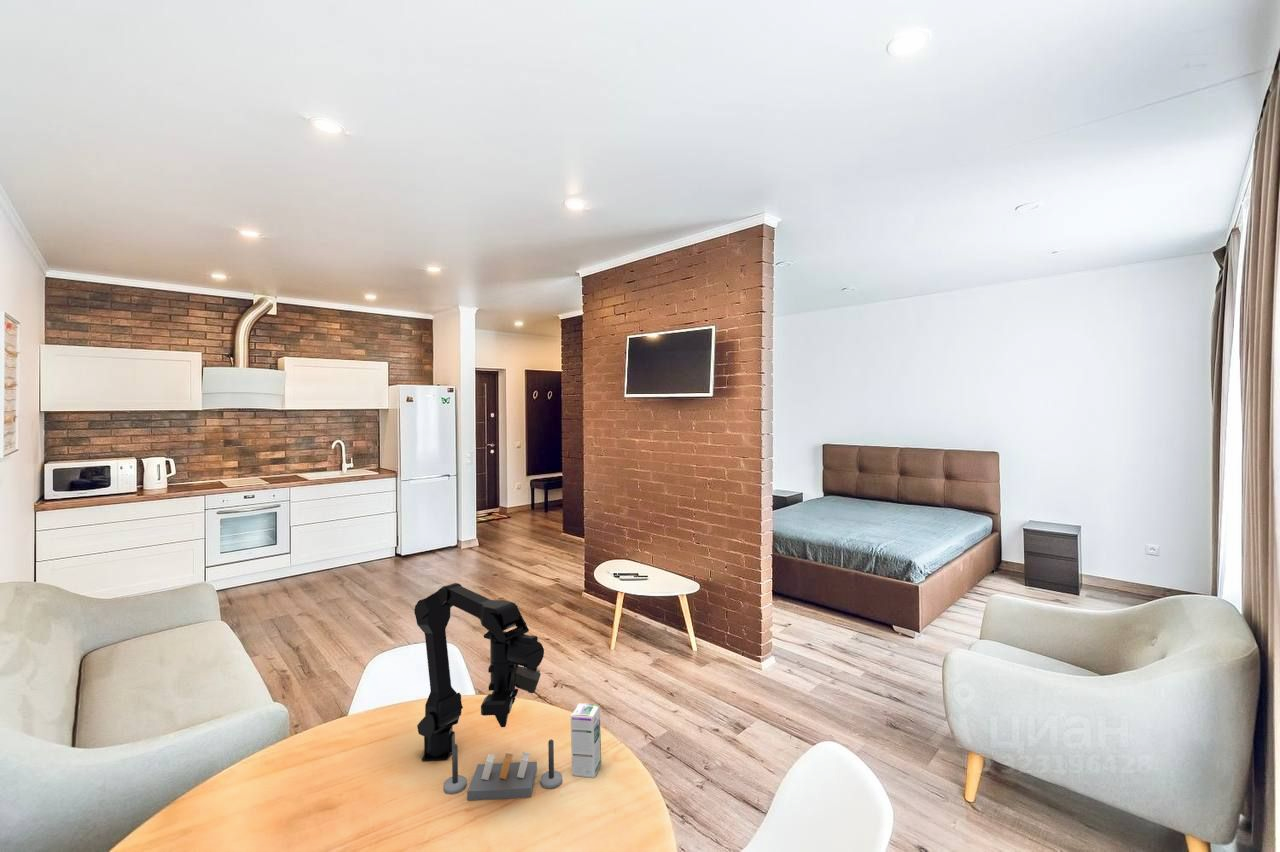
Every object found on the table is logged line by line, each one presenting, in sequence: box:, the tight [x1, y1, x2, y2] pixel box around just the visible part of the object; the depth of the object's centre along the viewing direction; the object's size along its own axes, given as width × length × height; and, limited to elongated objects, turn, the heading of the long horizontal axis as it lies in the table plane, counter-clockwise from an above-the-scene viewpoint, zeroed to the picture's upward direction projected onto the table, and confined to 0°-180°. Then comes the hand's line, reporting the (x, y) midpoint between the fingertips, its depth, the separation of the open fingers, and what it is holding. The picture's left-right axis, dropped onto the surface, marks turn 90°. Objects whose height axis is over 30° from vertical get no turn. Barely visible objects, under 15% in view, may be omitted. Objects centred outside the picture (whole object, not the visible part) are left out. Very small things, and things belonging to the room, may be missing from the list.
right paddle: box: [517, 751, 531, 778], centre depth 126 cm, size 2×3×4 cm, turn 3°
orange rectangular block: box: [499, 752, 513, 779], centre depth 125 cm, size 2×3×4 cm, turn 3°
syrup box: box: [570, 703, 602, 779], centre depth 131 cm, size 6×6×14 cm
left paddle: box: [481, 753, 496, 780], centre depth 125 cm, size 2×3×4 cm, turn 3°
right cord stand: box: [539, 738, 563, 790], centre depth 126 cm, size 5×5×10 cm
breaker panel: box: [466, 760, 538, 802], centre depth 125 cm, size 14×10×2 cm
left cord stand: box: [443, 743, 468, 795], centre depth 125 cm, size 5×5×10 cm
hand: (503, 726), depth 126 cm, fingers closed
